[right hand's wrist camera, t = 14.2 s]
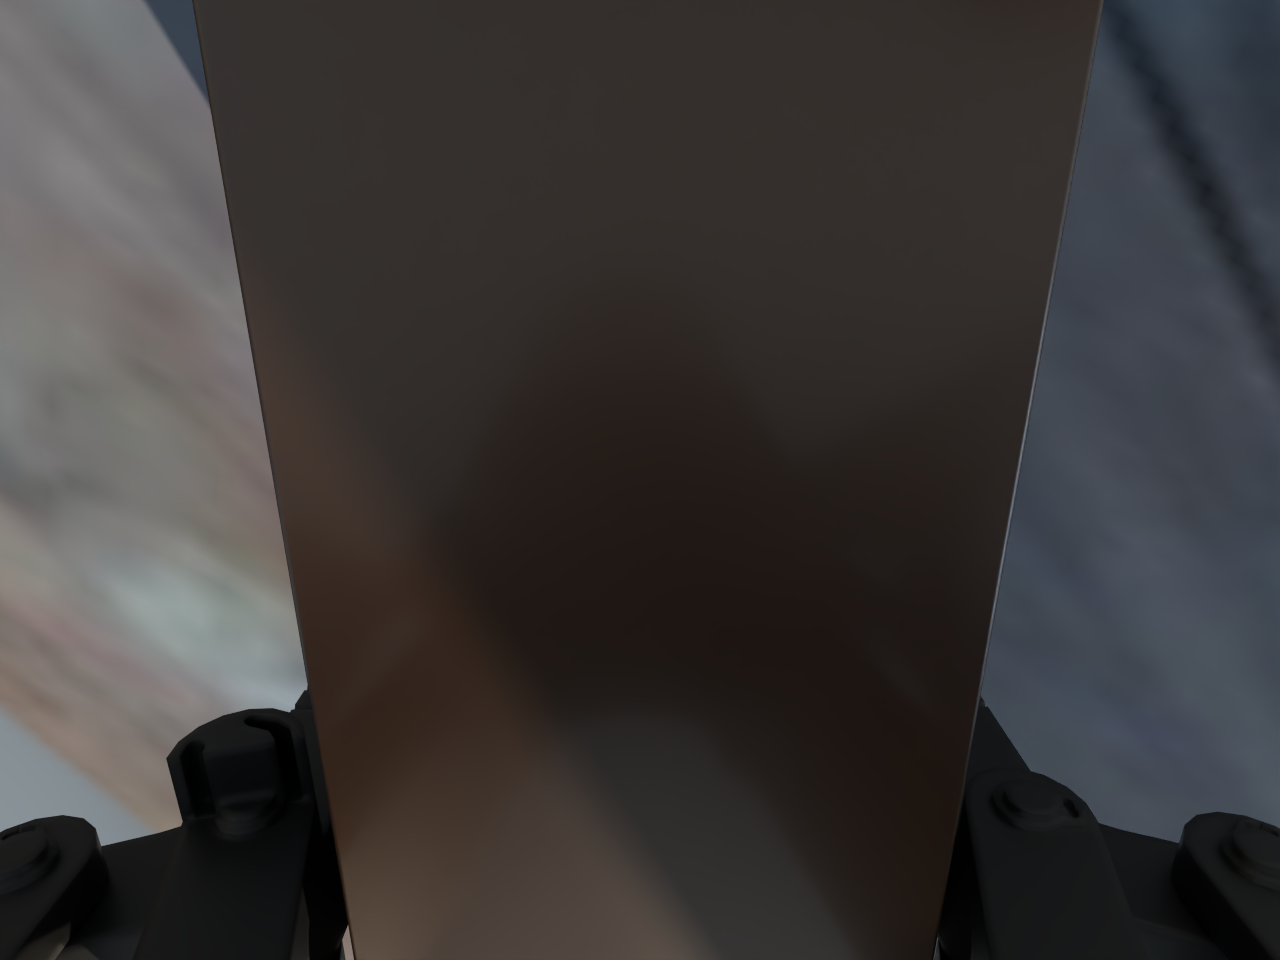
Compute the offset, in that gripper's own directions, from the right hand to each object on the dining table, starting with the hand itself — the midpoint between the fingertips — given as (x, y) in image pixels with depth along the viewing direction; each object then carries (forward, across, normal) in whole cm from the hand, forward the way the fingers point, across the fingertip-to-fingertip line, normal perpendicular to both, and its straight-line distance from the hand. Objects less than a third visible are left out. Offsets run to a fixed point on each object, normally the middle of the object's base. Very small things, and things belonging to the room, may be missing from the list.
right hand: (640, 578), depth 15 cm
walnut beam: (+1, 0, -9) cm, 9 cm away
